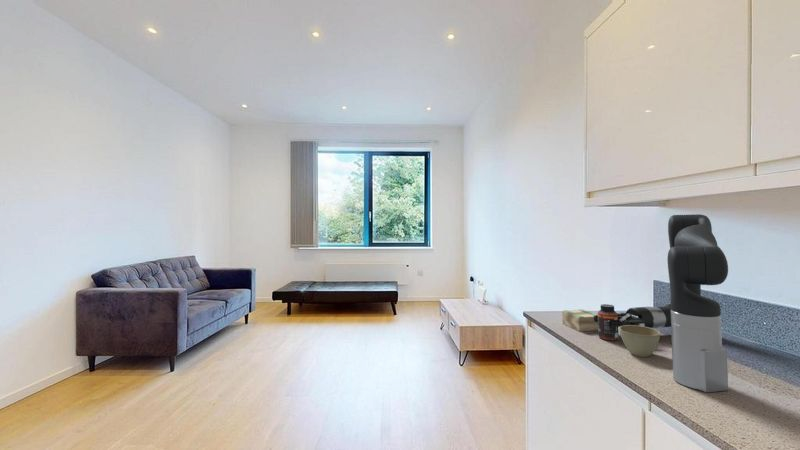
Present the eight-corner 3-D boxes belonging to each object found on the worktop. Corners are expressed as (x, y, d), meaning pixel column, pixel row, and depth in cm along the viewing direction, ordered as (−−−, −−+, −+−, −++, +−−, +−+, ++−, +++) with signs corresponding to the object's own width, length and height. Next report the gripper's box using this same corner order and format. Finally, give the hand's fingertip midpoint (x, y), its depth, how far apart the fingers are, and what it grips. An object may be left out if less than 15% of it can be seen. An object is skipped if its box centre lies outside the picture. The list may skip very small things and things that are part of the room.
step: (601, 329, 125) (601, 315, 125) (579, 331, 123) (578, 317, 124) (583, 322, 135) (583, 309, 135) (562, 323, 133) (562, 310, 134)
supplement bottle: (622, 341, 112) (621, 307, 112) (604, 341, 112) (603, 307, 112) (612, 335, 118) (610, 303, 118) (594, 335, 118) (593, 303, 118)
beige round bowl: (612, 349, 105) (611, 326, 105) (638, 346, 107) (638, 323, 107) (641, 362, 95) (640, 336, 95) (669, 358, 97) (669, 333, 97)
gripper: (628, 302, 124) (586, 305, 122) (663, 312, 110) (616, 315, 108) (629, 323, 124) (587, 326, 122) (664, 335, 110) (617, 339, 108)
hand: (601, 321), depth 115 cm, fingers closed on supplement bottle, 6 cm apart
